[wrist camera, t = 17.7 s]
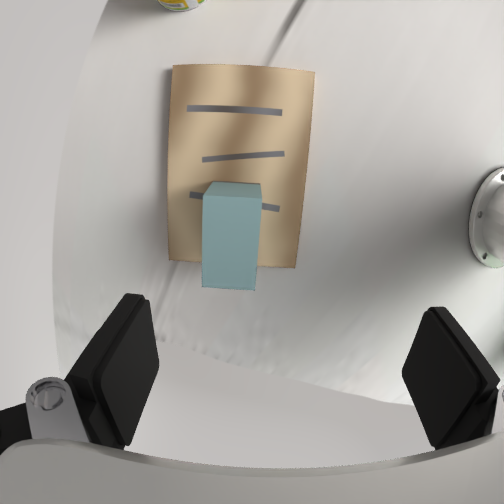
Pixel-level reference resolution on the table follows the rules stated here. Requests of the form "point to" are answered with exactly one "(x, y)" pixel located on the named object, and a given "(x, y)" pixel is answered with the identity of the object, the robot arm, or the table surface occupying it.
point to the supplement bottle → (181, 4)
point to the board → (239, 150)
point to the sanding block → (231, 234)
